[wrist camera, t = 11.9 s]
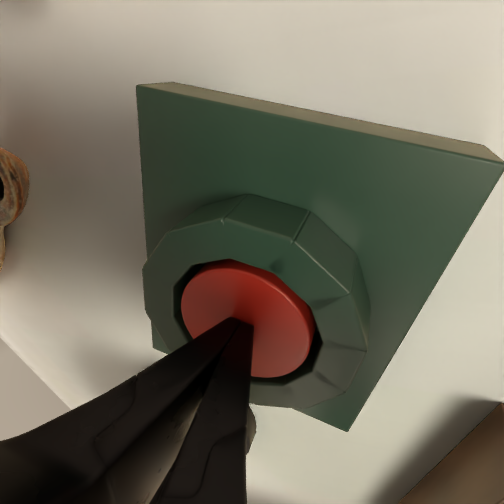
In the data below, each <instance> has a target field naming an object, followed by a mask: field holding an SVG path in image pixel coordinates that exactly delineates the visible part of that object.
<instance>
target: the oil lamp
mask: <svg viewBox="0 0 504 504" xmlns="http://www.w3.org/2000/svg"><path fill="white" fill-rule="evenodd" d="M28 195H29V172H28V169H27V166H26V165H25V164H24V162H23V161H22V160H21V159H19V158H18V157H16V156H15V155H13V154H12V153H10V152H8V151H6V150H4V149H2V148H0V271H1V268H2V265H3V261H4V257H5V250H6V248H5V240H4V234H3V230H4V226H5V225H8V224H10V223H12V222H13V221H14V220H15V219H16V218H17V217H18V216H19V215H20V214H21V212H22V210H23V209H24V207H25V205H26V202H27V198H28Z"/></svg>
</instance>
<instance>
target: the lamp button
mask: <svg viewBox="0 0 504 504" xmlns="http://www.w3.org/2000/svg"><path fill="white" fill-rule="evenodd" d="M181 312H182V316H183V320H184V323H185V325H186V327H187V329H188V331H189V333H190V334H191V336H192V338H193V339H194V338H196V337H197V336H199V335H201V334H202V333H204V332H205V331H207V330H209V329H210V328H212V327H214V326H215V325H217V324H218V323H220V322H222V321H223V320H225V319H226V318H228V317H234V318H236V319H239V320H241V321H242V322H247V323H249V324H252V325H254V340H253V354H252V368H251V376H255V377H263V378H271V377H279V376H283V375H286V374H288V373H291V372H292V371H294V370H296V369H297V368H298V367H299V366H300V365H301V364H302V363H303V362H304V361H305V359H306V358H307V356H308V354H309V351H310V347H311V343H312V340H313V336H314V333H315V329H316V325H317V324H316V321H315V319H314V316H313V313H312V310H311V307H310V306H309V305H308V304H307V303H306V302H305V301H303V300H302V299H301V298H300V297H299V296H298V295H297V294H296V293H295V292H294V291H293V290H291V289H290V288H289V287H288V286H287V285H286V284H285V283H284V282H283V281H282V280H280V279H279V278H278V277H277V276H276V275H275V274H274V273H272V272H269V271H266V270H263V269H260V268H257V267H254V266H251V265H248V264H245V263H242V262H239V261H236V260H233V259H230V258H229V259H223V260H217V261H212V262H207V263H206V264H205V265H204V266H203V267H202V268H201V269H200V270H199V271H198V273H197V274H196V275H195V276H194V277H193V278H192V279H191V280H190V281H189V283H188V284H187V285H186V287H185V289H184V291H183V295H182V300H181Z"/></svg>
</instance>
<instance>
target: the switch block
mask: <svg viewBox="0 0 504 504" xmlns="http://www.w3.org/2000/svg"><path fill="white" fill-rule="evenodd" d="M136 95H137V110H138V126H139V141H140V157H141V172H142V187H143V203H144V218H145V234H146V249H147V261H146V262H145V264H144V266H143V269H142V276H143V288H144V301H145V310H146V313H147V315H148V317H149V318H150V320H151V326H152V342H153V348H154V349H157V350H159V351H161V352H164V353H166V354H170V353H172V352H173V351H175V350H176V349H178V348H180V347H181V346H183V345H185V344H186V343H188V342H189V341H191V340H193V338H192V336H191V334H190V333H189V331H188V329H187V327H186V325H185V323H184V320H183V316H182V312H181V300H182V295H183V291H184V289H185V287H186V285H187V284H188V283H189V281H190V280H191V279H192V278H193V277H194V276H195V275H196V274H197V273H198V271H199V270H200V269H201V268H202V267H203V266H204V265H205V264H206V263H207V262H212V261H217V260H223V259H229V258H230V259H233V260H236V261H239V262H242V263H245V264H248V265H251V266H254V267H257V268H260V269H263V270H266V271H269V272H272V273H274V274H275V275H276V276H277V277H278V278H279V279H280V280H282V281H283V282H284V283H285V284H286V285H287V286H288V287H289V288H290V289H291V290H293V291H294V292H295V293H296V294H297V295H298V296H299V297H300V298H301V299H302V300H303V301H305V302H306V303H307V304H308V305H309V306H310V307H311V310H312V313H313V316H314V319H315V321H316V324H317V325H316V329H315V333H314V336H313V340H312V343H311V347H310V351H309V354H308V356H307V358H306V359H305V361H304V362H303V363H302V364H301V365H300V366H299V367H298V368H297V369H296V370H294V371H292V372H291V373H288V374H286V375H283V376H279V377H271V378H263V377H255V376H251V383H250V397H249V403H251V404H253V403H254V404H255V405H264V406H275V407H286V408H293V409H295V410H297V411H300V412H302V413H304V414H306V415H309V416H311V417H313V418H316V419H318V420H320V421H323V422H325V423H327V424H330V425H332V426H334V427H336V428H339V429H341V430H343V431H346V432H348V431H349V429H350V427H351V426H352V424H353V422H354V421H355V419H356V417H357V416H358V414H359V412H360V411H361V409H362V407H363V406H364V404H365V402H366V401H367V399H368V397H369V396H370V394H371V392H372V391H373V389H374V387H375V386H376V384H377V382H378V381H379V379H380V377H381V376H382V374H383V372H384V371H385V369H386V367H387V366H388V364H389V362H390V361H391V359H392V357H393V355H394V354H395V352H396V350H397V349H398V347H399V345H400V344H401V342H402V340H403V339H404V337H405V335H406V334H407V332H408V330H409V329H410V327H411V325H412V324H413V322H414V320H415V319H416V317H417V315H418V314H419V312H420V310H421V309H422V307H423V305H424V304H425V302H426V300H427V299H428V297H429V295H430V294H431V292H432V290H433V289H434V287H435V285H436V284H437V282H438V280H439V279H440V277H441V275H442V274H443V272H444V270H445V269H446V267H447V265H448V264H449V262H450V260H451V258H452V257H453V255H454V253H455V252H456V250H457V248H458V247H459V245H460V243H461V242H462V240H463V238H464V237H465V235H466V233H467V232H468V230H469V228H470V227H471V225H472V223H473V222H474V220H475V218H476V217H477V215H478V213H479V212H480V210H481V208H482V207H483V205H484V203H485V202H486V200H487V198H488V197H489V195H490V193H491V192H492V190H493V188H494V187H495V185H496V183H497V182H498V180H499V178H500V177H501V175H502V173H503V172H504V161H503V160H502V159H500V158H499V157H498V156H497V155H496V154H494V153H493V152H492V151H491V150H489V149H488V148H487V147H486V146H484V145H479V144H474V143H469V142H465V141H460V140H455V139H450V138H445V137H440V136H435V135H430V134H425V133H420V132H415V131H411V130H406V129H401V128H396V127H391V126H386V125H381V124H376V123H371V122H366V121H361V120H357V119H352V118H347V117H342V116H337V115H332V114H327V113H322V112H317V111H312V110H307V109H302V108H298V107H293V106H288V105H283V104H278V103H273V102H268V101H263V100H258V99H253V98H248V97H244V96H239V95H234V94H229V93H224V92H219V91H214V90H209V89H204V88H199V87H194V86H189V85H185V84H180V83H175V82H168V83H154V84H141V85H137V86H136Z"/></svg>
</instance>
